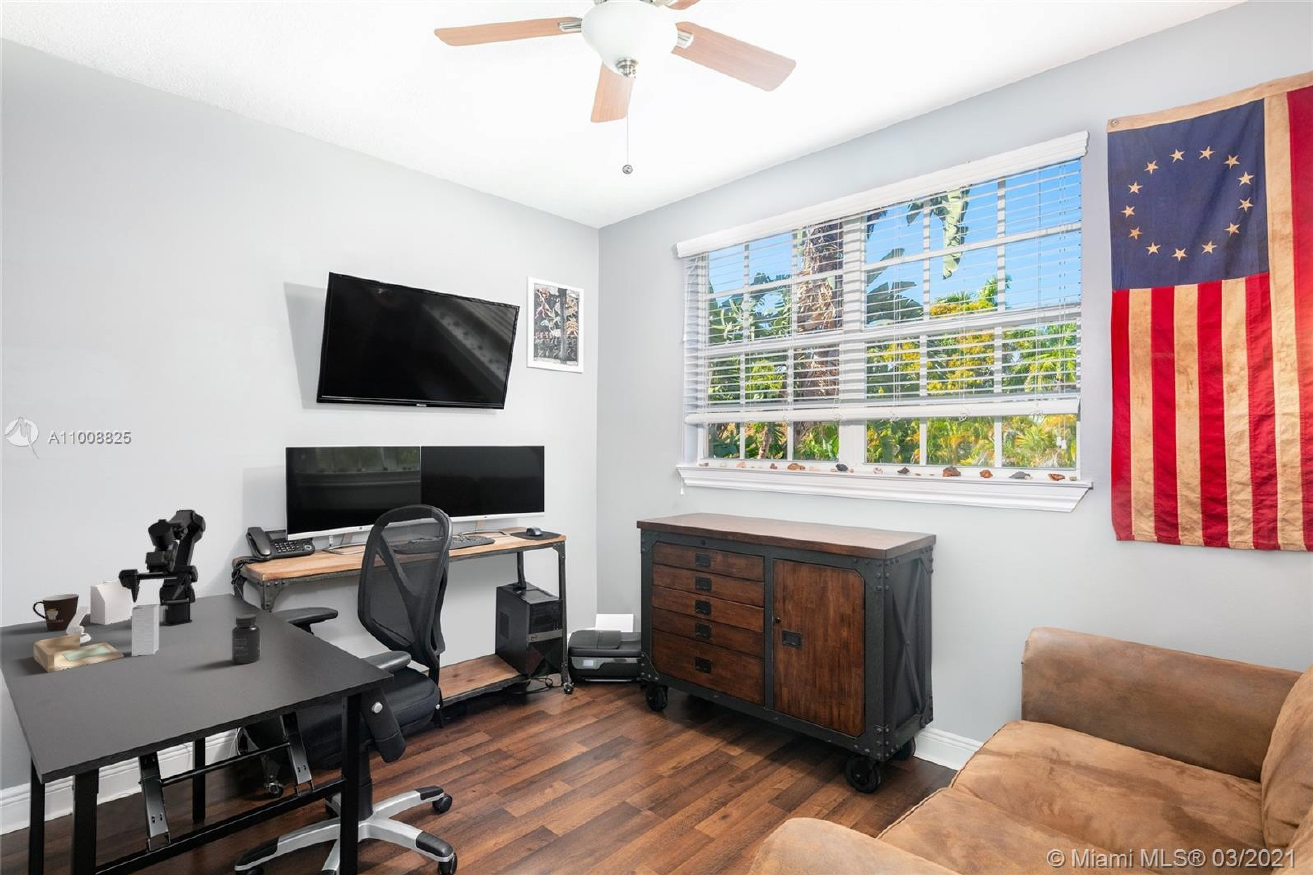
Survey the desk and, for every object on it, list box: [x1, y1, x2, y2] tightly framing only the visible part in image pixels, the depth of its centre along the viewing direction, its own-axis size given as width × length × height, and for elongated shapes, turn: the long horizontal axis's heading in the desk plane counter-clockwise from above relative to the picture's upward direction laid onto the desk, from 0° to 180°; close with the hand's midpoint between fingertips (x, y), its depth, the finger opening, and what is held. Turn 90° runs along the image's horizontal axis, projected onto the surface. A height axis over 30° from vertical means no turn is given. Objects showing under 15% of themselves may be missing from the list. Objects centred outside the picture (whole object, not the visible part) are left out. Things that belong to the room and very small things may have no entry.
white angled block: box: [89, 578, 134, 626], centre depth 224 cm, size 11×11×12 cm
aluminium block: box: [131, 603, 160, 657], centre depth 188 cm, size 5×5×13 cm
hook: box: [65, 605, 92, 644], centre depth 201 cm, size 8×12×7 cm
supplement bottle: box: [230, 613, 262, 665], centre depth 182 cm, size 7×7×12 cm
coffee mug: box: [32, 593, 80, 633], centre depth 213 cm, size 12×9×10 cm
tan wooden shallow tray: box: [33, 634, 125, 674], centre depth 184 cm, size 16×19×4 cm
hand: (153, 600), depth 195 cm, fingers open, 9 cm apart
